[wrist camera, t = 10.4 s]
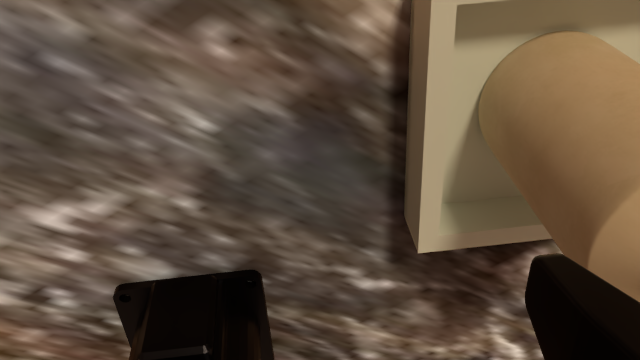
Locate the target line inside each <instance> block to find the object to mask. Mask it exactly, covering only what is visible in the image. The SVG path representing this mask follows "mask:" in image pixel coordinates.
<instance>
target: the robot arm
mask: <svg viewBox="0 0 640 360" xmlns="http://www.w3.org/2000/svg"><path fill="white" fill-rule="evenodd" d="M249 280H253V281H254V282H247V281H249ZM122 294H127V295H129V296H124V295H122ZM113 300H114V302H115V305H116V308H117V311H118V314H119V316H120V319H121V322H122V325H123V327H124V330H125V333H126V336H127V338H128V341H129V344H130V347H131V352H130V357H129V360H274V353H273V346H272V340H271V333H270V327H269V320H268V314H267V307H266V300H265V294H264V287H263V281H262V276H261V274H260V273H259V272H258V271H255V270H243V271H234V272H225V273H216V274H207V275H198V276H189V277H180V278H171V279H162V280H153V281H144V282H134V283H125V284H121V285H119V286H117V287H116V289H115V292H114V296H113ZM525 304H526V308H527V311H528V314H529V317H530V320H531V323H532V326H533V328H534V331H535V334H536V337H537V340H538V343H539V345H540V348H541V351H542V354H543V357H544V360H640V302H639V301H637V300H635V299H634V298H632V297H631V296H629V295H627V294H626V293H624V292H623V291H621V290H619V289H618V288H616V287H615V286H613V285H611V284H610V283H608V282H607V281H605V280H603V279H602V278H600V277H599V276H597V275H595V274H594V273H592V272H591V271H589V270H587V269H586V268H584V267H583V266H581V265H579V264H578V263H576V262H575V261H573V260H571V259H570V258H568V257H567V256H565V255H563V254H557V253H556V254H547V255H539V256H536V257H535V258H534V259H533V260H532V263H531V267H530V271H529V276H528V281H527V286H526V291H525Z"/></svg>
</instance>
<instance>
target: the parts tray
mask: <svg viewBox="0 0 640 360" xmlns="http://www.w3.org/2000/svg"><path fill="white" fill-rule="evenodd" d="M565 30H567V31H578V32H584V33H587V34H590V35H593V36H596V37H598V38H600V39H601V40H603V41H605V42H607V43H608V44H610V45H611V46H613V47H615V48H616V49H618V50H619V51H621V52H622V53H624V54H625V55H627V56H628V57H630V58H631V59H633V60H634V61H636V62H637V63H639V64H640V0H411V18H410V48H409V78H408V108H407V138H406V168H405V198H404V217H405V220H406V223H407V225H408V228H409V231H410V233H411V236H412V239H413V241H414V244H415V247H416V250H417V252H418V253H427V252H436V251H445V250H454V249H463V248H472V247H481V246H490V245H499V244H508V243H517V242H526V241H535V240H544V239H553V238H552V237H551V236H550V234H549V233H548V231H547V230H546V228H545V227H544V226H543V224H542V223H541V221H540V220H539V218H538V217H537V215H536V214H535V213H534V211H533V210H532V208H531V207H530V205H529V204H528V203H527V201H526V200H525V198H524V197H523V195H522V194H521V192H520V191H519V190H518V188H517V187H516V185H515V184H514V182H513V181H512V180H511V178H510V177H509V175H508V174H507V172H506V171H505V170H504V168H503V167H502V165H501V164H500V162H499V161H498V159H497V158H496V157H495V155H494V154H493V152H492V150H491V149H490V147H489V146H488V144H487V142H486V141H485V139H484V137H483V134H482V131H481V128H480V124H479V117H478V109H479V101H480V97H481V94H482V91H483V88H484V86H485V84H486V82H487V80H488V78H489V76H490V75H491V73H492V72H493V70H494V69H495V68H496V67H497V65H498V64H499V63H500V62H501V61H502V60H503V59H504V58H505V57H506V56H507V55H508V54H509V53H510V52H512V51H513V50H514V49H516V48H517V47H518V46H520V45H522V44H523V43H525V42H526V41H529V40H531V39H533V38H535V37H537V36H540V35H543V34H546V33H550V32H555V31H565Z"/></svg>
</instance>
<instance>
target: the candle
mask: <svg viewBox="0 0 640 360" xmlns="http://www.w3.org/2000/svg"><path fill="white" fill-rule="evenodd" d="M478 117H479V124H480V128H481V131H482V134H483V137H484V139H485V141H486V142H487V144H488V146H489V147H490V149H491V150H492V152H493V154H494V155H495V157H496V158H497V159H498V161H499V162H500V164H501V165H502V167H503V168H504V170H505V171H506V172H507V174H508V175H509V177H510V178H511V180H512V181H513V182H514V184H515V185H516V187H517V188H518V190H519V191H520V192H521V194H522V195H523V197H524V198H525V200H526V201H527V203H528V204H529V205H530V207H531V208H532V210H533V211H534V213H535V214H536V215H537V217H538V218H539V220H540V221H541V223H542V224H543V226H544V227H545V228H546V230H547V231H548V233H549V234H550V236H551V237H552V238H553V240H554V241H555V243H556V244H557V246H558V247H559V248H560V250H561V251H562V253H563V254H564V255H565V256H567V257H568V258H570V259H571V260H573V261H575V262H576V263H578V264H579V265H581V266H583V267H584V268H586V269H587V270H589V271H591V272H592V273H594V274H595V275H597V276H599V277H600V278H602V279H603V280H605V281H607V282H608V283H610V284H611V285H613V286H615V287H616V288H618V289H619V290H621V291H623V292H624V293H626V294H627V295H629V296H631V297H632V298H634V299H635V300H637V301H639V302H640V64H639V63H637V62H636V61H634V60H633V59H631V58H630V57H628V56H627V55H625V54H624V53H622V52H621V51H619V50H618V49H616V48H615V47H613V46H611V45H610V44H608V43H607V42H605V41H603V40H601V39H600V38H598V37H596V36H593V35H590V34H587V33H584V32H578V31H567V30H565V31H555V32H550V33H546V34H543V35H540V36H537V37H535V38H533V39H531V40H529V41H526V42H525V43H523V44H522V45H520V46H518V47H517V48H516V49H514V50H513V51H512V52H510V53H509V54H508V55H507V56H506V57H505V58H504V59H503V60H502V61H501V62H500V63H499V64H498V65H497V67H496V68H495V69H494V70H493V72H492V73H491V75H490V76H489V78H488V80H487V82H486V84H485V86H484V88H483V91H482V94H481V97H480V101H479V109H478Z"/></svg>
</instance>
